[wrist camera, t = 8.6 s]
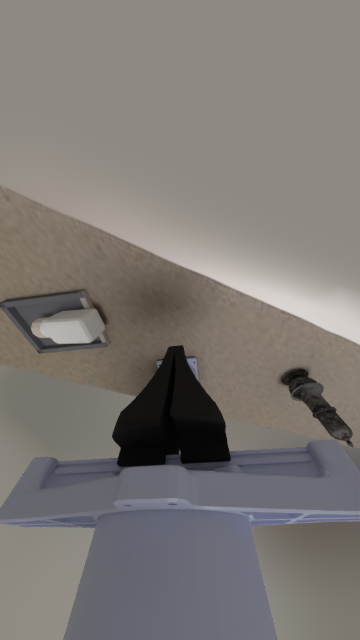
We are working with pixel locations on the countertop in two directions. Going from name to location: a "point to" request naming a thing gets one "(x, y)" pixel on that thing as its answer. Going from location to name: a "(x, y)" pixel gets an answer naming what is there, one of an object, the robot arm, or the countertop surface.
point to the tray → (47, 306)
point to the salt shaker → (317, 403)
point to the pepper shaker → (70, 326)
